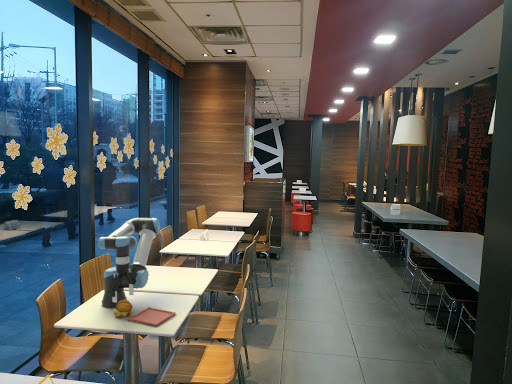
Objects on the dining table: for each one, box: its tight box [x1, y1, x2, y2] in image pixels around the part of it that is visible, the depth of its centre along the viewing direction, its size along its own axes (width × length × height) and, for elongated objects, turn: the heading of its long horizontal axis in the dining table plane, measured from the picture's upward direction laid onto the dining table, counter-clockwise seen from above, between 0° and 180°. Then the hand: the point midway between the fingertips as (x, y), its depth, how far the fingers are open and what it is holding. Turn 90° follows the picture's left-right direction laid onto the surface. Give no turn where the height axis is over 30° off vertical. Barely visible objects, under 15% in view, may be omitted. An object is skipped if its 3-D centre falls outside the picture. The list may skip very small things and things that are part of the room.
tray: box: [127, 307, 177, 328], centre depth 216 cm, size 20×18×2 cm
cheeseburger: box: [113, 299, 133, 318], centre depth 219 cm, size 10×11×10 cm
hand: (123, 298), depth 218 cm, fingers open, 13 cm apart
